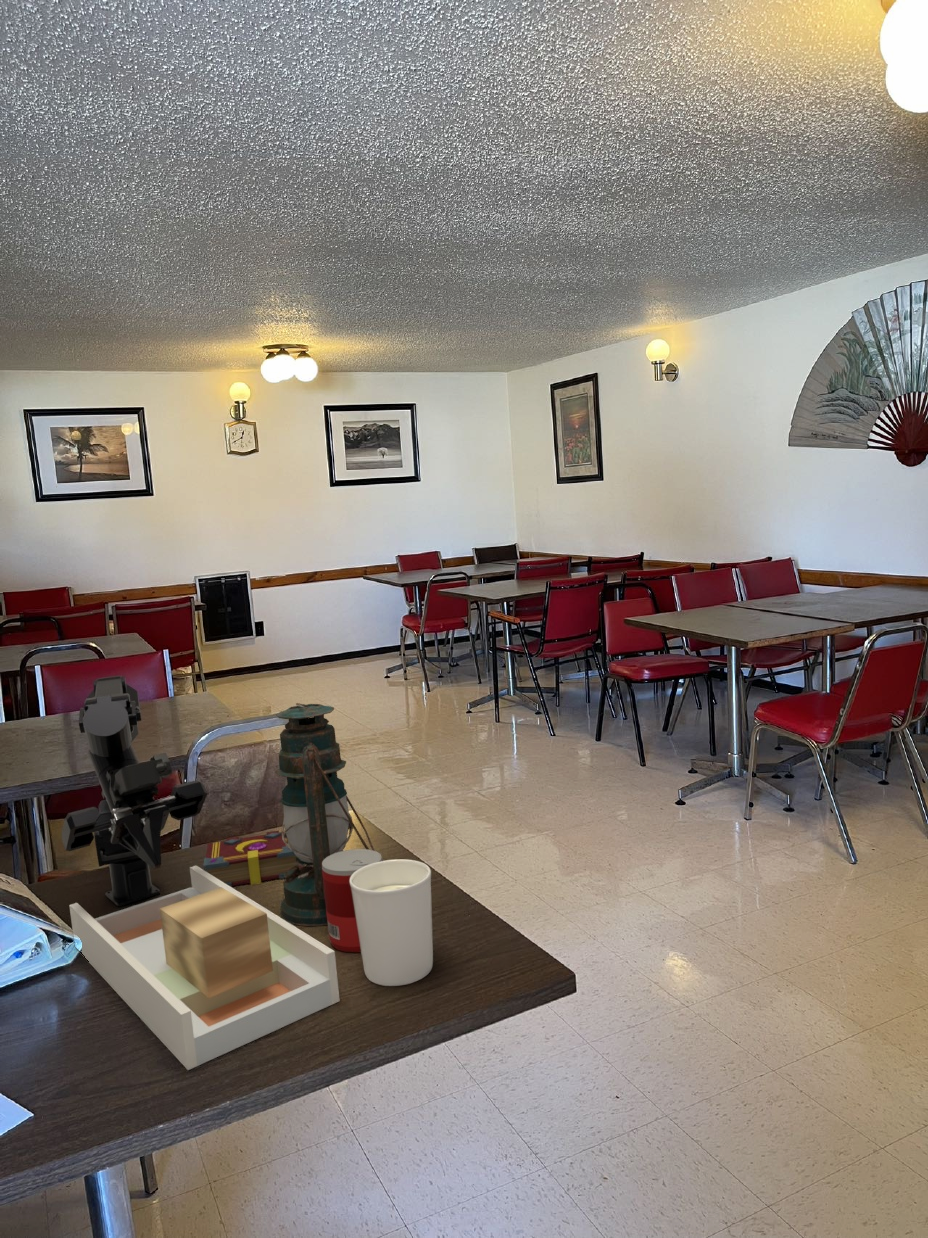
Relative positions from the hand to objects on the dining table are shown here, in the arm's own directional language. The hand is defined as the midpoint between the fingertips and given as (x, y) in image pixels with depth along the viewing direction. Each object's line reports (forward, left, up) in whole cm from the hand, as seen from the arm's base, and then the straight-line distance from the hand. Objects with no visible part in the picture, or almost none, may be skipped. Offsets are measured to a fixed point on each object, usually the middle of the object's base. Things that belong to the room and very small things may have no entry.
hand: (157, 867), depth 120 cm
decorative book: (-15, +21, -12) cm, 29 cm away
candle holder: (+29, +18, -11) cm, 36 cm away
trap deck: (+10, 0, -11) cm, 15 cm away
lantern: (+6, +22, -11) cm, 25 cm away
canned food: (+19, +19, -11) cm, 29 cm away
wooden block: (+17, 0, -8) cm, 19 cm away
